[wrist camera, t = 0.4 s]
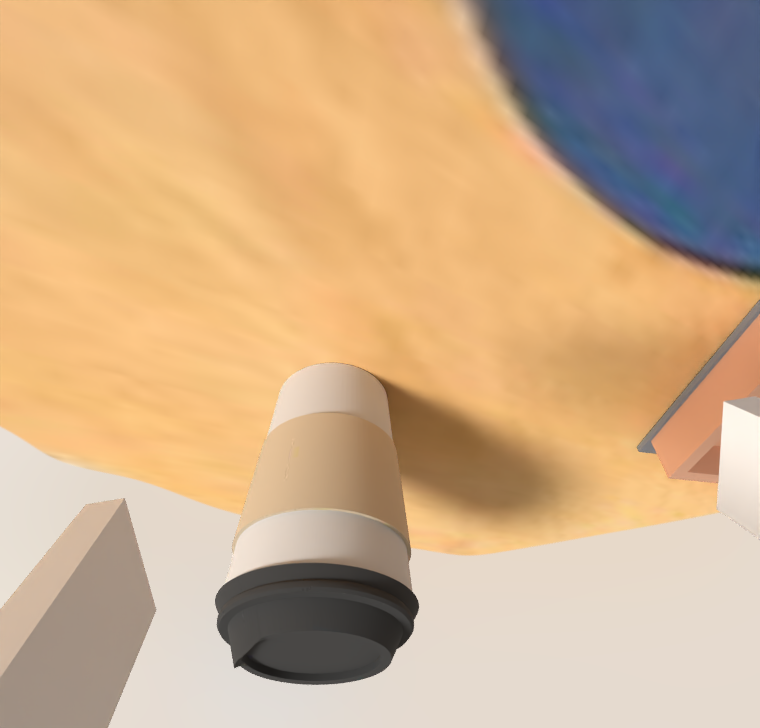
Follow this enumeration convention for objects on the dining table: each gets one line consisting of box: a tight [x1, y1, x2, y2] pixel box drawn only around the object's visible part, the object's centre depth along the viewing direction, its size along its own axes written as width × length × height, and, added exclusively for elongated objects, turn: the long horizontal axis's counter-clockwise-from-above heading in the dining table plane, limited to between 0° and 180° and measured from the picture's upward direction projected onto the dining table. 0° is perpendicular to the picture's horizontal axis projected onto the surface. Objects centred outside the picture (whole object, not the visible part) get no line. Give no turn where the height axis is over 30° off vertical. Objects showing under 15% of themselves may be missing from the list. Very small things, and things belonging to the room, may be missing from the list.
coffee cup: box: [215, 363, 419, 685], centre depth 27 cm, size 9×9×15 cm
